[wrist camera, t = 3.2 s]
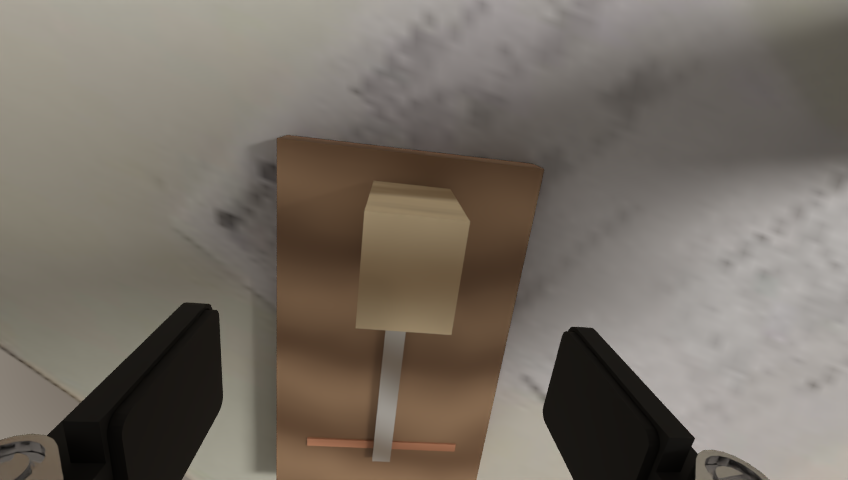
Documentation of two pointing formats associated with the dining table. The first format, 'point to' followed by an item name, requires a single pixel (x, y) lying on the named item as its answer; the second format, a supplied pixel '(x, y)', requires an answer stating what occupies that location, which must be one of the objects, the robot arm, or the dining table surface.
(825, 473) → the dining table surface
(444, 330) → the block
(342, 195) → the board
